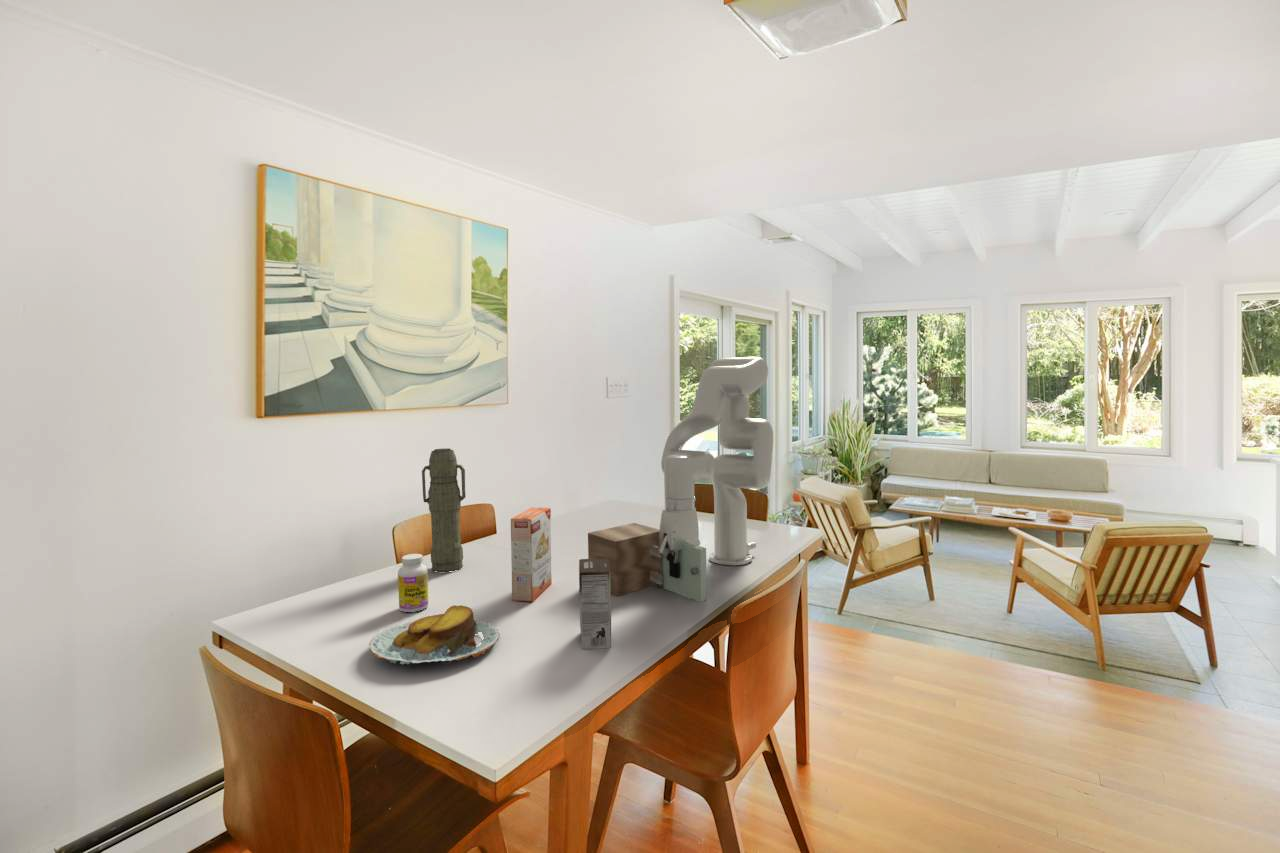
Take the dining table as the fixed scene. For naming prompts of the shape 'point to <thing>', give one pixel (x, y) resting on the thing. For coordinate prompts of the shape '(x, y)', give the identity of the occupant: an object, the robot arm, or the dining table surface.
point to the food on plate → (435, 638)
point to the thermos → (444, 509)
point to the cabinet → (628, 556)
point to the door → (687, 573)
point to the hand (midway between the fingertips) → (680, 574)
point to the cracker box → (531, 553)
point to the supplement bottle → (413, 584)
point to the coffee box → (595, 603)
